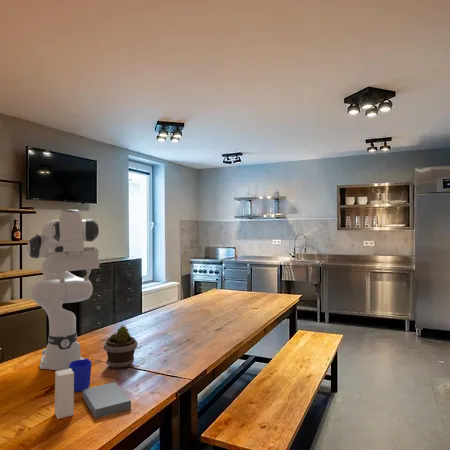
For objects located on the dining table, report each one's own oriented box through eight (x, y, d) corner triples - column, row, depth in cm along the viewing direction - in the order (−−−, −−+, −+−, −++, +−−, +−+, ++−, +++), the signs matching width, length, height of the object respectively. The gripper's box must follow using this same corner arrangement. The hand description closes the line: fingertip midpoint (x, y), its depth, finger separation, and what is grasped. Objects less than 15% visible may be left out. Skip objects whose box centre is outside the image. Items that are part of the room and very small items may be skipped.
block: (54, 412, 127) (55, 371, 127) (70, 408, 130) (70, 368, 130) (57, 418, 123) (57, 376, 123) (73, 414, 126) (74, 373, 126)
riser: (82, 397, 139) (82, 389, 139) (114, 390, 145) (115, 382, 145) (95, 418, 124) (95, 409, 124) (130, 409, 130) (130, 400, 130)
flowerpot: (102, 362, 175) (102, 319, 175) (135, 358, 180) (136, 316, 180) (103, 373, 161) (104, 327, 161) (139, 369, 167) (140, 324, 167)
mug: (97, 380, 154) (97, 355, 154) (87, 393, 142) (87, 366, 142) (76, 380, 154) (77, 356, 154) (65, 393, 142) (65, 367, 142)
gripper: (95, 247, 162) (97, 279, 161) (44, 250, 150) (45, 285, 148) (100, 246, 157) (102, 279, 156) (47, 248, 145) (49, 284, 143)
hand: (74, 282), depth 152 cm, fingers open, 8 cm apart
